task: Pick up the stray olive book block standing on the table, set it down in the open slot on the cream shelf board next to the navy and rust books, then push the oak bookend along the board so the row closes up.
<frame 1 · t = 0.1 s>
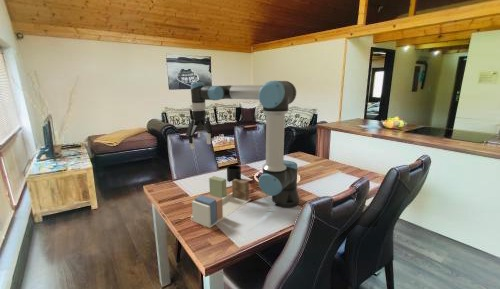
hand: (200, 146, 149), 28 cm above the table, fingers open, 13 cm apart
mug: (235, 180, 171), on the table
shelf: (223, 211, 130), on the table
book rust: (213, 216, 123), point 1 cm above the table, touching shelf
book olive: (218, 198, 145), on the table
book navy: (206, 220, 119), point 1 cm above the table, touching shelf
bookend: (240, 189, 141), point 6 cm above the table, slide at 0.0 cm, touching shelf
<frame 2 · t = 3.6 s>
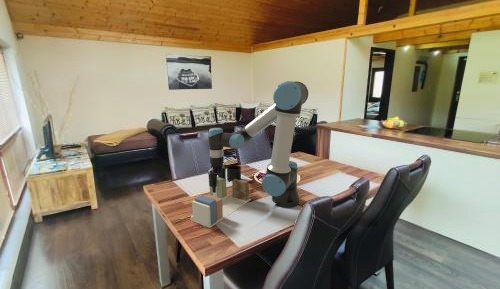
hand: (218, 195, 144), 2 cm above the table, fingers closed on book olive, 4 cm apart
book olive: (218, 198, 145), on the table, touching gripper
everything else where it was.
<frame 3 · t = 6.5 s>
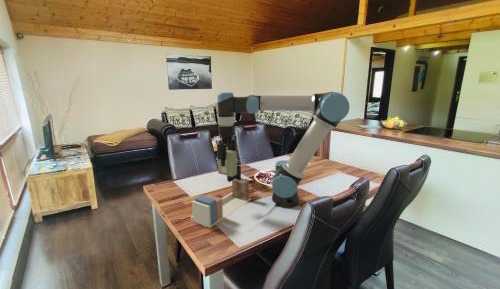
hand: (227, 170, 128), 21 cm above the table, fingers closed on book olive, 4 cm apart
book olive: (227, 173, 128), point 19 cm above the table, touching gripper
everything else where it was.
when the fingers open (4 cm above the table, at t = 9.6 s): book olive drops 1 cm, resting on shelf.
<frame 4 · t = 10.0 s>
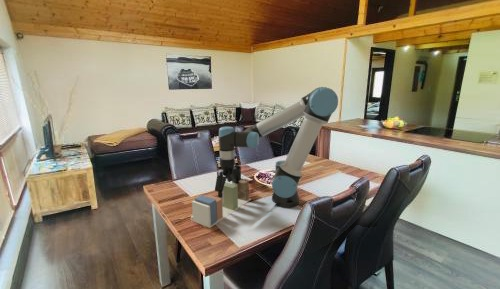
hand: (228, 198, 132), 6 cm above the table, fingers open, 10 cm apart
book olive: (228, 206, 133), point 1 cm above the table, touching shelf
everything else where it was.
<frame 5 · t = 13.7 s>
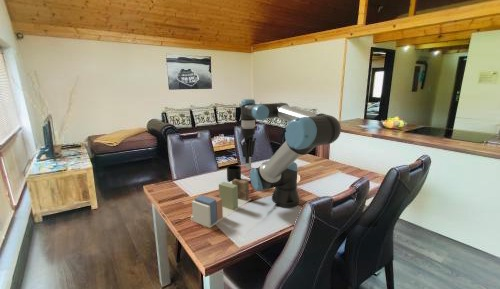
hand: (248, 167, 146), 16 cm above the table, fingers closed
nothing on the table moved.
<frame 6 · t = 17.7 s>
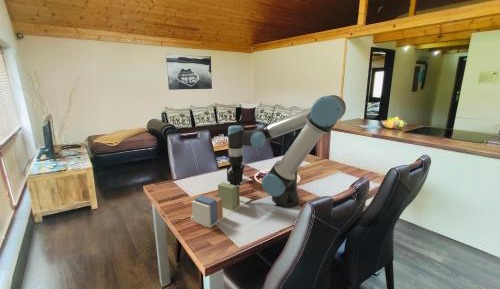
hand: (236, 196, 139), 4 cm above the table, fingers closed
book olive: (227, 206, 132), point 1 cm above the table, touching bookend, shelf
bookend: (231, 195, 134), point 6 cm above the table, slide at 8.7 cm, touching book olive, hand, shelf
everything else where it was.
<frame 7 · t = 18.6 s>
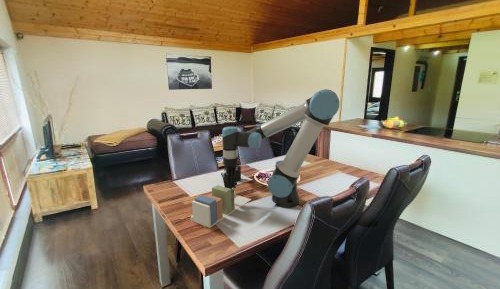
hand: (231, 199, 135), 4 cm above the table, fingers closed
book olive: (222, 210, 128), point 1 cm above the table
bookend: (225, 198, 130), point 6 cm above the table, slide at 13.3 cm, touching gripper, hand, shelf
everything else where it was.
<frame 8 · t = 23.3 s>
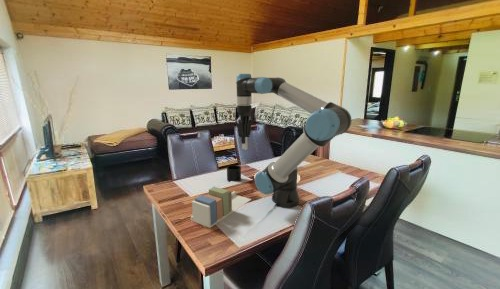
hand: (244, 149, 136), 29 cm above the table, fingers closed
book olive: (219, 212, 127), point 1 cm above the table, touching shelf
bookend: (222, 200, 128), point 6 cm above the table, slide at 15.5 cm, touching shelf
everything else where it was.
at the end: book olive inside the target area (2.5 cm from its centre), point 1.2 cm above the table; book olive tilted 0°; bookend slide at 15.5 cm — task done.
